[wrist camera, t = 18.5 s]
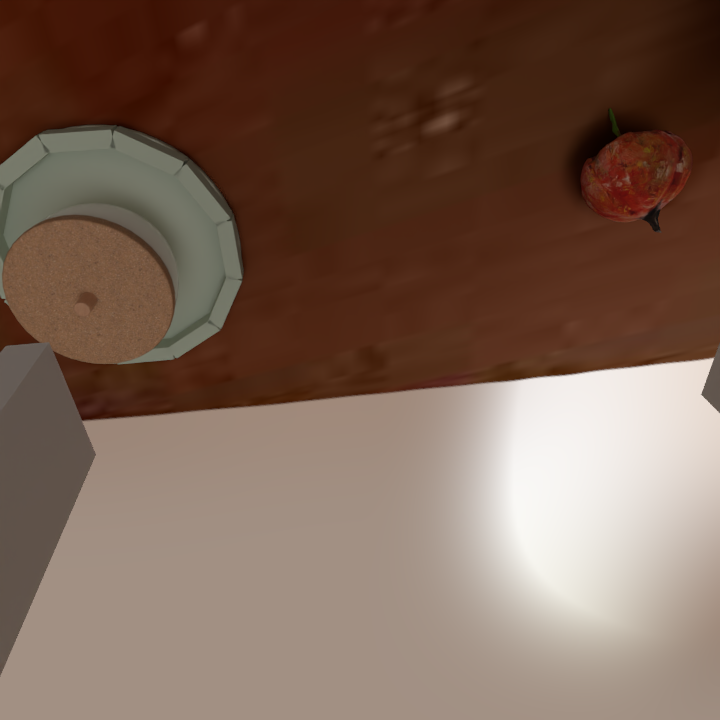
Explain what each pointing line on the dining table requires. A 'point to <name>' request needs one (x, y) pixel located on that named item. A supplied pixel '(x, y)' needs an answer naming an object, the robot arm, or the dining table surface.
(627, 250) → the dining table surface
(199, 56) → the dining table surface
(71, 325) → the lidded jar
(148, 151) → the rimmed tray
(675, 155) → the pomegranate
